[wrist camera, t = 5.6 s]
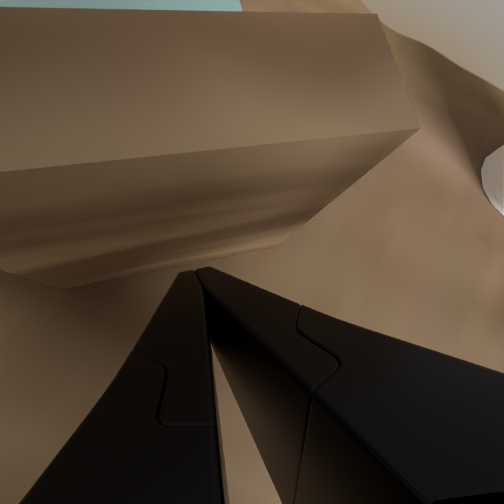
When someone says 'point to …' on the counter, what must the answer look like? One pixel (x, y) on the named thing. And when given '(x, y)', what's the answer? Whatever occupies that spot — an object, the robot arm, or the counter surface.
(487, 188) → the foam cup
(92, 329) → the counter surface
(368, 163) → the walnut block
